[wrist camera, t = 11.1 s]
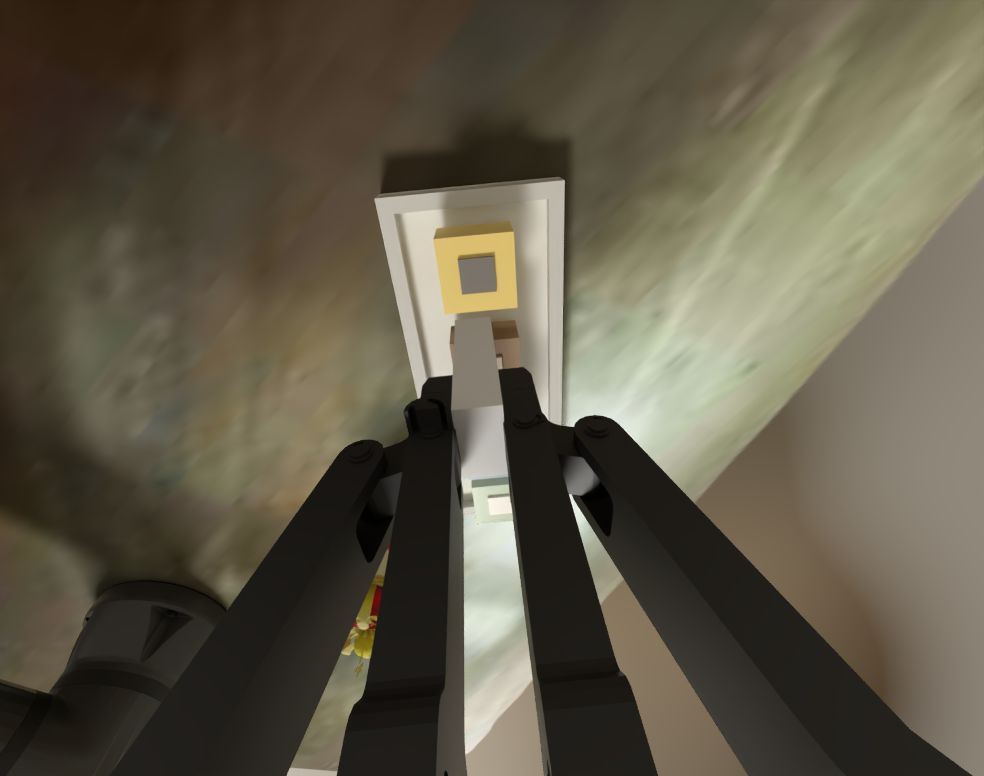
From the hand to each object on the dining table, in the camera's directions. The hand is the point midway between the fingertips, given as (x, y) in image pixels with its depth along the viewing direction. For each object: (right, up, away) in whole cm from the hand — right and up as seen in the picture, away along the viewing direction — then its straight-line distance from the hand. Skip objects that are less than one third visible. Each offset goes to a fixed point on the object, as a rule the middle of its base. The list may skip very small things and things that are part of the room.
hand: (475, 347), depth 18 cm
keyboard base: (0, -1, +18) cm, 18 cm away
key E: (+1, -11, +22) cm, 24 cm away
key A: (0, +7, +10) cm, 13 cm away
